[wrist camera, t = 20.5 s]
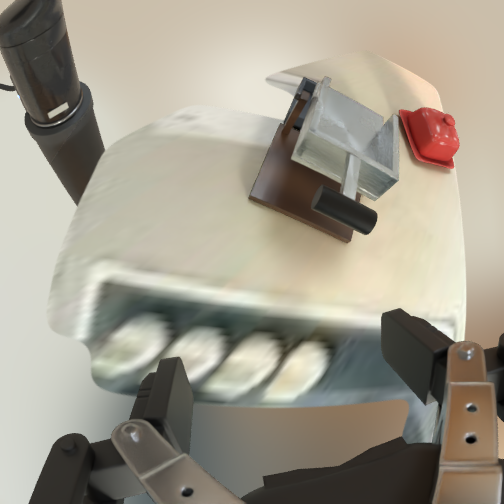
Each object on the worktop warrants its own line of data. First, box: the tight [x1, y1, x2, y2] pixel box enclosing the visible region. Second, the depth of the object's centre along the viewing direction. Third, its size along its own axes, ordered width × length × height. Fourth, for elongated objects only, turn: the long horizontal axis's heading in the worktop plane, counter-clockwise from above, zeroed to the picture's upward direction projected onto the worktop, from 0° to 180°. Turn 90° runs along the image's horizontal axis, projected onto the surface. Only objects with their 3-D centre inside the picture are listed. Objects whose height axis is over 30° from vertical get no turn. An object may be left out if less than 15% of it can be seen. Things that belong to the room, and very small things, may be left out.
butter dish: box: [399, 107, 459, 169], centre depth 46 cm, size 12×12×8 cm
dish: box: [291, 76, 399, 235], centre depth 30 cm, size 22×10×5 cm, turn 160°
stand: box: [249, 91, 361, 243], centre depth 37 cm, size 13×14×9 cm
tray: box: [284, 77, 317, 130], centre depth 44 cm, size 13×9×2 cm
